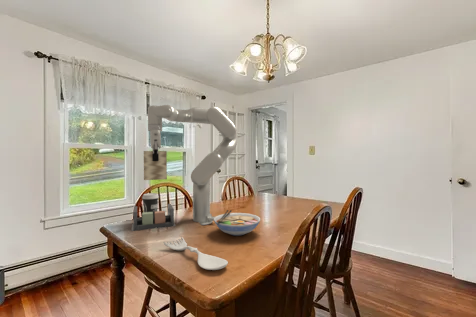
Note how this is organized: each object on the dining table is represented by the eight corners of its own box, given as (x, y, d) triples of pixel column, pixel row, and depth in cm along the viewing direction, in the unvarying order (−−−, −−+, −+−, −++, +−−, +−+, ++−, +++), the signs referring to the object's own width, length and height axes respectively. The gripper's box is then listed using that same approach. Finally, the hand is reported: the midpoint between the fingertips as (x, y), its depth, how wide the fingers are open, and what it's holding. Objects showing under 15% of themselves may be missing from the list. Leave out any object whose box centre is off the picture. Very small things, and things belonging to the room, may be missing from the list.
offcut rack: (172, 221, 133) (172, 203, 133) (175, 228, 120) (175, 208, 120) (132, 226, 125) (132, 206, 125) (131, 234, 112) (131, 212, 112)
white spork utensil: (181, 243, 101) (181, 235, 101) (233, 268, 79) (233, 258, 78) (162, 249, 94) (162, 241, 94) (212, 278, 72) (212, 267, 72)
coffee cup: (147, 222, 132) (147, 196, 132) (138, 219, 138) (138, 194, 138) (162, 218, 140) (162, 194, 140) (153, 216, 146) (153, 192, 145)
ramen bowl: (257, 244, 99) (257, 225, 99) (206, 240, 103) (206, 222, 103) (262, 227, 123) (262, 211, 123) (221, 224, 128) (221, 209, 128)
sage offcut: (152, 225, 122) (152, 211, 122) (153, 227, 118) (152, 213, 118) (142, 226, 120) (142, 212, 120) (142, 228, 117) (142, 214, 116)
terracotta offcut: (164, 223, 124) (164, 210, 124) (165, 225, 121) (165, 212, 121) (154, 224, 123) (154, 211, 122) (155, 226, 119) (155, 213, 119)
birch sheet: (166, 178, 134) (166, 151, 134) (166, 179, 132) (166, 151, 132) (143, 179, 129) (143, 151, 129) (143, 180, 127) (143, 151, 127)
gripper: (163, 126, 124) (163, 161, 125) (161, 130, 139) (161, 160, 139) (148, 126, 121) (148, 161, 122) (147, 129, 136) (147, 161, 136)
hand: (155, 160), depth 130 cm, fingers closed on birch sheet, 2 cm apart
